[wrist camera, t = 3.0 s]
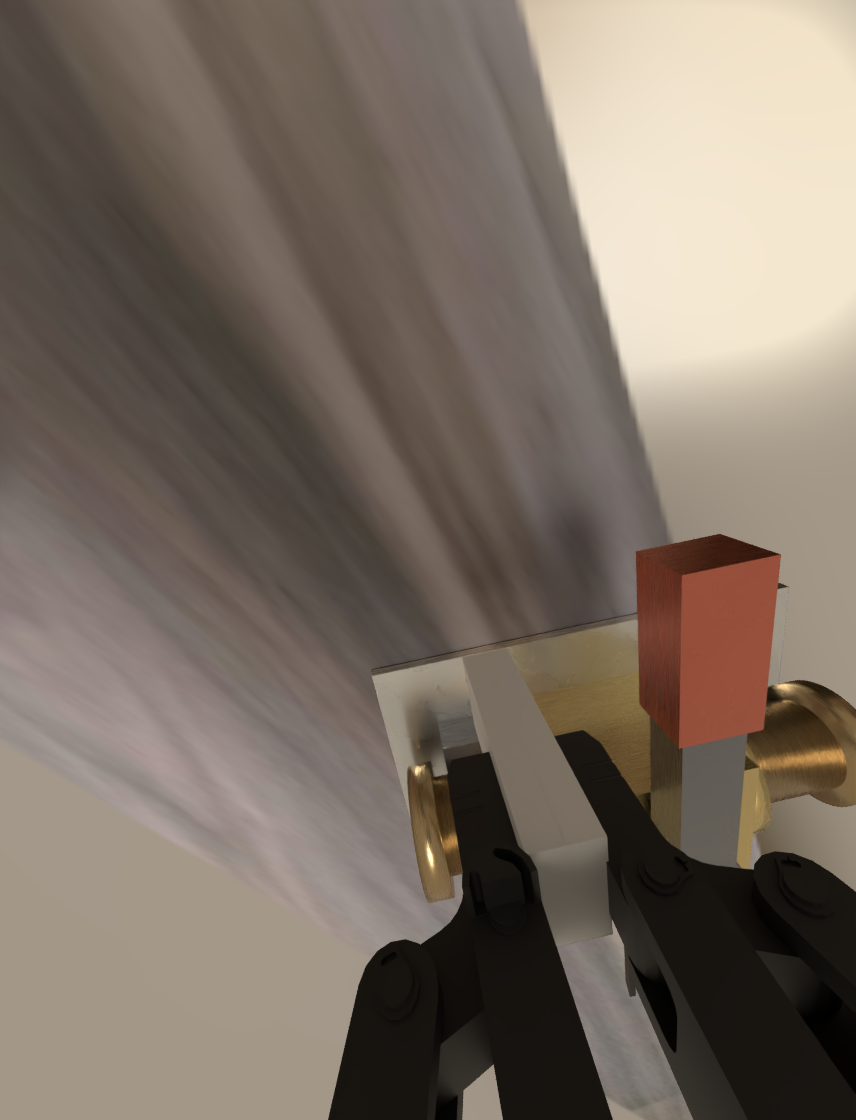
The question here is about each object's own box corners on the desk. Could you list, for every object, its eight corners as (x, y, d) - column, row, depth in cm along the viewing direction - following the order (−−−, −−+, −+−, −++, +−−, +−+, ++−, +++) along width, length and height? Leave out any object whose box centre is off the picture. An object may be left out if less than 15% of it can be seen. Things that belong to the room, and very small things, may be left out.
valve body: (419, 845, 28) (431, 1002, 20) (372, 669, 23) (365, 788, 16) (761, 768, 29) (894, 891, 21) (779, 582, 24) (958, 656, 17)
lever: (713, 874, 19) (756, 934, 17) (628, 894, 19) (661, 958, 17) (734, 529, 14) (801, 550, 11) (615, 553, 13) (660, 580, 11)
